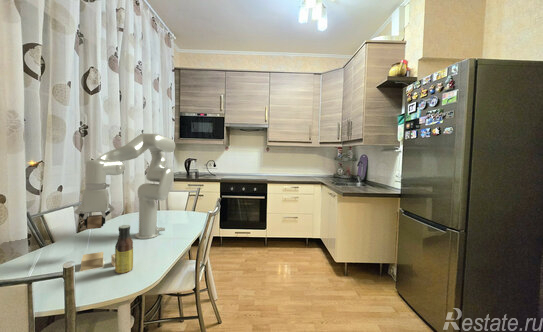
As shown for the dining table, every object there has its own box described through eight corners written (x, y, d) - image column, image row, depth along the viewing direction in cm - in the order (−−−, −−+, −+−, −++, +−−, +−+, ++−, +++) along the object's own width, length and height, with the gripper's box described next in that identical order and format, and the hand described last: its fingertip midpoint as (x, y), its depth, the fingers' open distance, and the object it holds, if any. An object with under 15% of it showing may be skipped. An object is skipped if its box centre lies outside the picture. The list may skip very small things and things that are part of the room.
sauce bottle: (120, 269, 98) (121, 223, 97) (135, 269, 99) (136, 223, 98) (111, 277, 92) (112, 228, 91) (127, 277, 92) (128, 228, 91)
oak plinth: (103, 260, 103) (103, 251, 103) (102, 267, 97) (102, 257, 97) (83, 263, 99) (83, 254, 99) (81, 271, 93) (81, 261, 93)
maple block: (121, 260, 104) (122, 252, 103) (124, 263, 101) (125, 255, 101) (111, 263, 101) (111, 254, 100) (114, 267, 98) (114, 257, 98)
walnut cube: (101, 224, 109) (102, 214, 109) (101, 227, 105) (101, 217, 105) (88, 226, 107) (88, 215, 106) (87, 229, 102) (87, 218, 102)
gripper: (118, 185, 113) (117, 222, 114) (72, 186, 104) (72, 226, 104) (117, 187, 107) (117, 226, 107) (69, 188, 97) (68, 231, 98)
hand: (94, 225), depth 106 cm, fingers closed on walnut cube, 5 cm apart
